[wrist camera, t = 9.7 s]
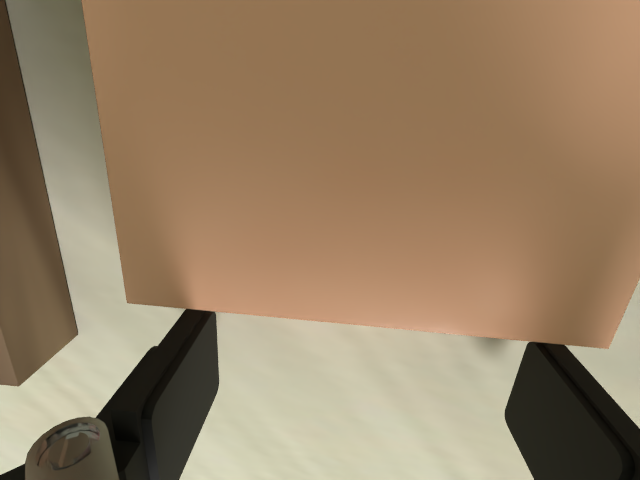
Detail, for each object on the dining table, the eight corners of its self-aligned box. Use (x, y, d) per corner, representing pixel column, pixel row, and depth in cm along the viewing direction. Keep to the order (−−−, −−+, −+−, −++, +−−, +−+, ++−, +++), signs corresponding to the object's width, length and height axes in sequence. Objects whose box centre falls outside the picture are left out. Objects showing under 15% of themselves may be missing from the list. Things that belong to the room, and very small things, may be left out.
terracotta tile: (644, -6, 9) (786, -55, 6) (545, 288, 12) (608, 348, 9) (152, -35, 9) (66, -95, 6) (177, 255, 12) (127, 303, 9)
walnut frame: (1054, -211, 7) (1428, -375, 4) (705, 392, 12) (791, 463, 10) (-118, -246, 8) (-320, -397, 5) (37, 330, 13) (-31, 381, 11)
